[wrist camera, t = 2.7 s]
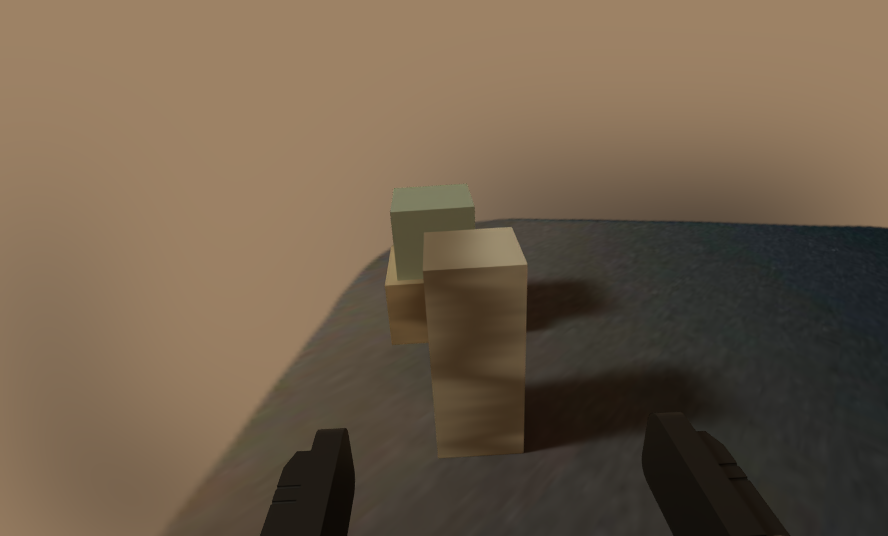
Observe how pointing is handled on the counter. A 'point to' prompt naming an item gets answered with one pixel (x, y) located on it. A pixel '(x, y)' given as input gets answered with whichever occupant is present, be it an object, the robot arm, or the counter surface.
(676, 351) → the counter surface
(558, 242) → the counter surface
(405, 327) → the oak block
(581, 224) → the counter surface
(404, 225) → the sage block
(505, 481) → the counter surface
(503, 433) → the birch pillar
